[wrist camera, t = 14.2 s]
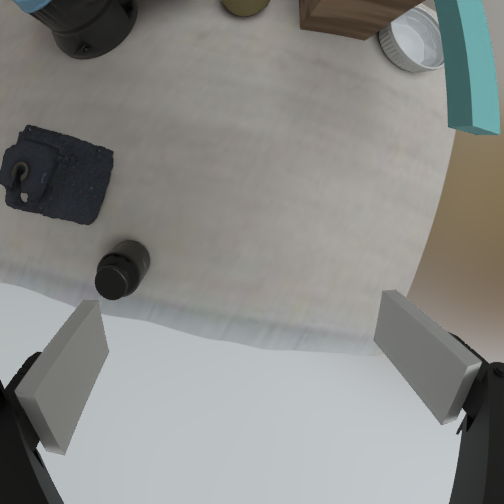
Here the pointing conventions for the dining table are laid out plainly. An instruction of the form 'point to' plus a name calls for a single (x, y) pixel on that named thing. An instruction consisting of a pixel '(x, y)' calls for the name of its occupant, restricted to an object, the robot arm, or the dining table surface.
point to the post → (351, 15)
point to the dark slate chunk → (56, 175)
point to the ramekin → (413, 41)
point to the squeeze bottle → (245, 6)
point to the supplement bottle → (122, 270)
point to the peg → (468, 67)
